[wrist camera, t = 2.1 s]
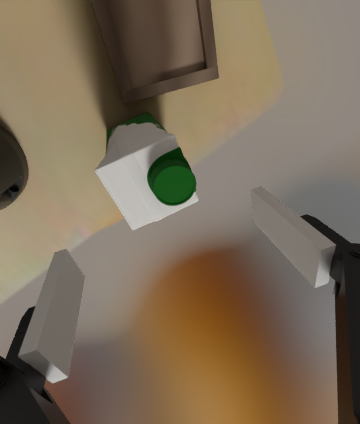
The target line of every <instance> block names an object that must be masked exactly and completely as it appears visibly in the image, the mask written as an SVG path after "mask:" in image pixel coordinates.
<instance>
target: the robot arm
mask: <svg viewBox="0 0 360 424" xmlns="http://www.w3.org/2000/svg"><path fill="white" fill-rule="evenodd" d="M27 180H28V164H27V160H26V158H25V155H24V153H23V151H22V149H21V147H20V146H19V144H18V143H17V142H16V140H15V139H14V138H13V137H12V136H11V135H10V134H9V133H8V132H7V131H6V130H5V129H4V128H3V127H1V126H0V210H2V209H4V208H6V207H7V206H9V205H10V204H11V203H13V202H14V201H15V200H16V199H17V198H18V196H19V195H20V194H21V193H22V191H23V190H24V188H25V186H26V184H27ZM251 198H252V216H253V222H254V223H255V224H256V225H257V226H258V227H259V228H260V229H261V230H262V231H263V232H264V233H265V234H266V235H267V237H268V238H269V239H270V240H271V241H272V242H273V243H274V244H275V245H276V246H277V247H278V249H279V250H280V251H281V252H282V253H283V254H284V255H285V256H286V257H287V258H288V259H289V260H290V262H291V263H292V264H293V265H294V266H295V267H296V268H297V269H298V270H299V271H300V272H301V273H302V275H304V277H305V278H306V279H307V280H308V281H309V282H310V283H311V284H312V285H313V286H314V287H315V288H316V287H319V286H321V285H324V284H327V283H328V281H329V276H331V277H332V278H333V279H334V280H335V285H334V290H333V294H335V317H336V318H335V319H336V352H337V354H336V355H337V391H338V424H360V244H355V243H350V242H349V241H347V240H346V239H345V238H343V237H342V236H340V235H339V234H338V233H336V232H335V231H333V230H332V229H331V228H329V227H328V226H327V225H325V224H323V223H322V222H321V221H320V220H318V219H317V218H314V217H312V216H309V215H307V214H306V215H303V216H298V215H297V214H296V213H295V212H293V211H292V210H291V209H289V208H288V207H287V206H286V205H284V204H283V203H282V202H280V201H279V200H278V199H277V198H275V197H274V196H273V195H272V194H270V193H269V192H268V191H266V190H265V189H264V188H262V187H258V188H254V189H252V190H251ZM84 277H85V276H84V274H83V273H82V271H81V270H80V269H79V267H78V265H77V264H76V263H75V261H74V260H73V258H72V257H71V255H70V254H69V252H68V251H67V249H64V250H61V251H58V252H55V253H54V256H53V259H52V262H51V264H50V267H49V270H48V273H47V276H46V279H45V281H44V284H43V287H42V290H41V293H40V295H39V298H38V301H37V304H36V306H34V307H31V308H29V309H28V310H27V311H26V313H25V315H24V316H23V317H22V319H21V321H20V324H19V326H18V329H17V331H16V334H15V337H14V339H13V341H12V344H11V346H10V349H9V351H8V354H7V357H6V359H4V358H3V357H1V356H0V424H70V422H69V421H68V419H67V418H66V417H65V415H64V414H63V412H62V411H61V409H60V408H59V406H58V405H57V404H56V402H55V401H54V399H53V398H52V396H51V395H50V393H49V392H48V391H47V390H46V389H45V388H44V384H45V380H46V379H48V380H49V381H50V382H51V383H55V382H57V381H60V380H63V379H65V378H68V376H69V369H70V363H71V357H72V351H73V345H74V339H75V333H76V327H77V320H78V315H79V309H80V302H81V297H82V290H83V284H84Z"/></svg>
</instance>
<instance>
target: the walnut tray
mask: <svg viewBox="0 0 360 424" xmlns="http://www.w3.org/2000/svg"><path fill="white" fill-rule="evenodd" d="M91 3H92V6H93V9H94V12H95V15H96V18H97V21H98V24H99V27H100V30H101V33H102V36H103V39H104V43H105V46H106V49H107V52H108V55H109V58H110V61H111V64H112V67H113V70H114V73H115V76H116V79H117V82H118V85H119V88H120V92H121V95H122V98H123V101H124V104H128V103H131V102H135V101H138V100H142V99H146V98H149V97H153V96H156V95H160V94H164V93H167V92H171V91H174V90H178V89H182V88H185V87H189V86H192V85H196V84H200V83H203V82H207V81H210V80H214V79H217V78H219V75H218V66H217V57H216V47H215V38H214V29H213V20H212V11H211V2H210V0H91Z"/></svg>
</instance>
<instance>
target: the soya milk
mask: <svg viewBox="0 0 360 424" xmlns="http://www.w3.org/2000/svg"><path fill="white" fill-rule="evenodd" d="M95 172H96V174H97V175H98V177H99V179H100V180H101V182H102V183H103V185H104V186H105V188H106V189H107V191H108V193H109V194H110V196H111V197H112V199H113V200H114V202H115V203H116V205H117V207H118V208H119V210H120V211H121V213H122V214H123V216H124V218H125V219H126V221H127V222H128V224H129V225H130V227H131V228H132V230H135V229H137V228H139V227H142V226H143V225H146V224H148V223H150V222H153V221H158V220H160V219H162V218H164V217H165V216H168V215H169V214H172V213H174V212H176V211H178V210H180V209H182V208H185V207H187V206H189V205H191V204H193V203H195V202H197V201H198V200H199V199H198V196H197V193H196V179H195V176H194V174H193V173H192V171H191V168H190V166H189V164H188V162H187V160H186V159H185V158H184V156H183V153H182V151H181V148H180V147H179V146H178V143H177V141H176V138H175V135H174V134H170V133H167V131H166V130H165V129H164V128H163V127H162V126H161V125H160V124H159V123H158V121H157V120H156V119H155V118H154V117H153V116H152V115H151V114H150V113H149V112H147V113H144V114H142V115H140V116H137V117H135V118H132V119H130V120H128V121H125V122H123V123H121V124H119V125H117V126H115V127H113V128H111V129H109V130H107V142H106V155H105V157H104V159H103V160H102V161H101V163H100V164H99V165H98V167H97V168H96V169H95Z"/></svg>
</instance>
